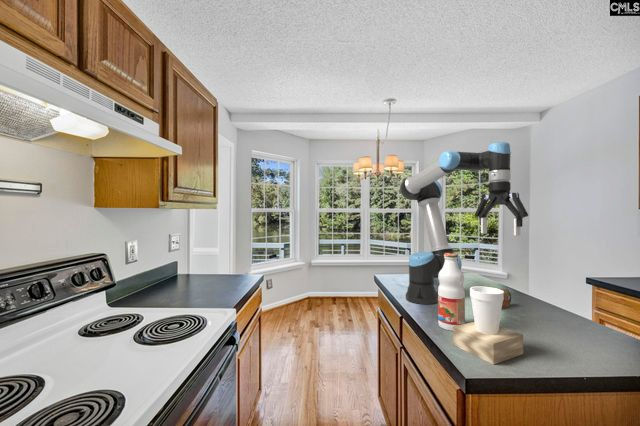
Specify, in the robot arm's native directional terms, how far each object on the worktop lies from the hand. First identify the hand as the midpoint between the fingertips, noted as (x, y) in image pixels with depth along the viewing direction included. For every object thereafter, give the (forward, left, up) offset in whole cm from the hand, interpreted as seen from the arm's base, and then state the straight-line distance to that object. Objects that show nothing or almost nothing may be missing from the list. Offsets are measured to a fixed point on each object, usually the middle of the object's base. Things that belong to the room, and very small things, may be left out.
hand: (499, 234), depth 118 cm
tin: (-10, +14, -35) cm, 39 cm away
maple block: (+14, -28, -35) cm, 47 cm away
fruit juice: (-4, -23, -35) cm, 42 cm away
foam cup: (+14, -28, -29) cm, 43 cm away
